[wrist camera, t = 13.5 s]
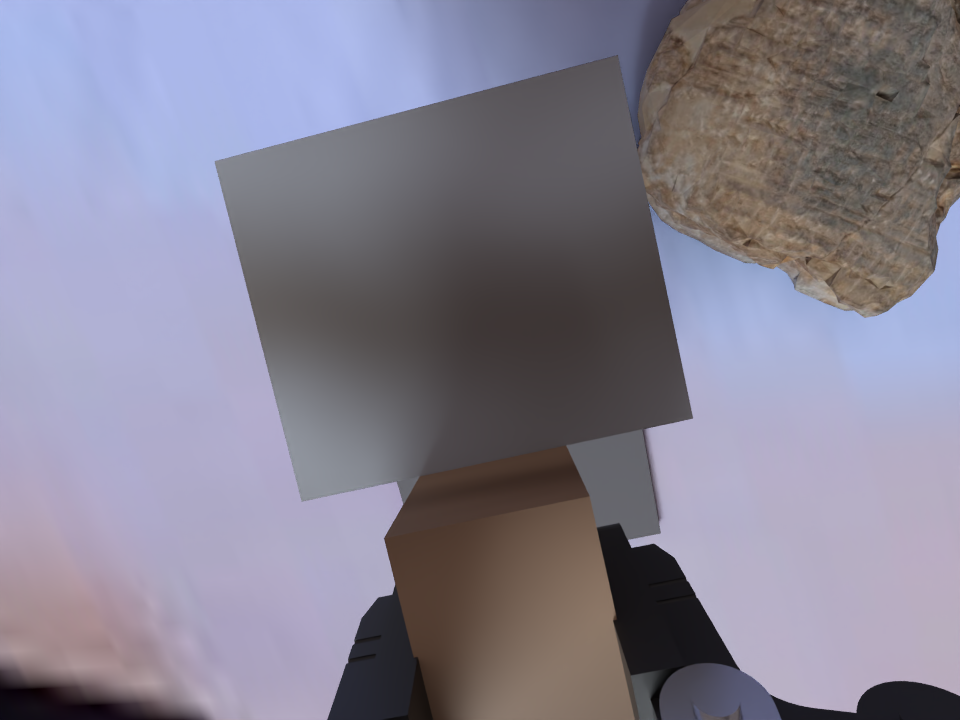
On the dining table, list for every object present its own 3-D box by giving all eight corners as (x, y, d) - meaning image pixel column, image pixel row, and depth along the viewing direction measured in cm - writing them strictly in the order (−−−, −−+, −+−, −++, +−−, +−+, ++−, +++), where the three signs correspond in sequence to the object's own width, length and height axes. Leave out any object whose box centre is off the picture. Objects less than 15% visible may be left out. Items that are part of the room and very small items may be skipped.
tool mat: (312, 178, 23) (307, 177, 22) (582, 109, 22) (585, 106, 21) (426, 572, 27) (425, 579, 27) (657, 526, 26) (660, 533, 26)
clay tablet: (819, -331, 19) (579, 196, 23) (935, -525, 14) (607, 183, 18) (1127, -146, 20) (851, 322, 24) (1328, -266, 16) (943, 341, 19)
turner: (240, 175, 11) (93, 95, 7) (607, 79, 11) (666, -64, 7) (422, 893, 12) (381, 1168, 8) (766, 840, 12) (898, 1106, 8)
